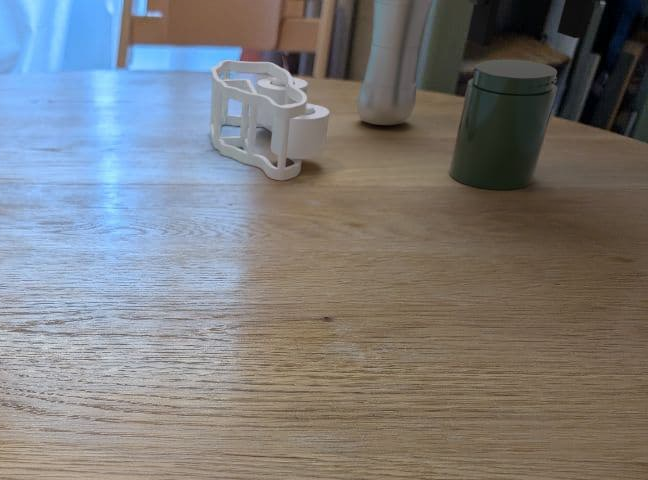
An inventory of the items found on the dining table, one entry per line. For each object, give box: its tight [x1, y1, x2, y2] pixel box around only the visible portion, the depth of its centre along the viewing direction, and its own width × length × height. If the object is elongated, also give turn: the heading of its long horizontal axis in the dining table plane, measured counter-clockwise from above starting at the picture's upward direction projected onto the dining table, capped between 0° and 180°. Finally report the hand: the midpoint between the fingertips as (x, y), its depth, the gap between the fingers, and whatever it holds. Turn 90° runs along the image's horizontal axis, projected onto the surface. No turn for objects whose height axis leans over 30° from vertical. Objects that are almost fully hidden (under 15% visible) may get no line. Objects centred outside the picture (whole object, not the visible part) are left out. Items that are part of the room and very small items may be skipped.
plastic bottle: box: [356, 0, 433, 126], centre depth 96 cm, size 6×7×20 cm
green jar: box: [448, 59, 558, 191], centre depth 84 cm, size 8×8×10 cm
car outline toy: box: [209, 59, 330, 181], centre depth 93 cm, size 20×11×7 cm, turn 1°
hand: (524, 38), depth 79 cm, fingers closed on lid, 9 cm apart
